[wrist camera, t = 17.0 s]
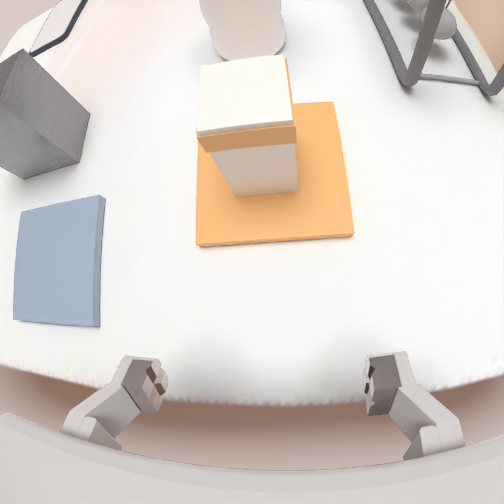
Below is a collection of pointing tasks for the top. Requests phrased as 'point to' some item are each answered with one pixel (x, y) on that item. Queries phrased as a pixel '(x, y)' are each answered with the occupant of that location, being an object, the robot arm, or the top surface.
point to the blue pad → (60, 263)
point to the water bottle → (244, 27)
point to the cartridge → (249, 124)
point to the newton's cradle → (433, 26)
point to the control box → (37, 119)
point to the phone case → (57, 25)
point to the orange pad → (281, 204)
